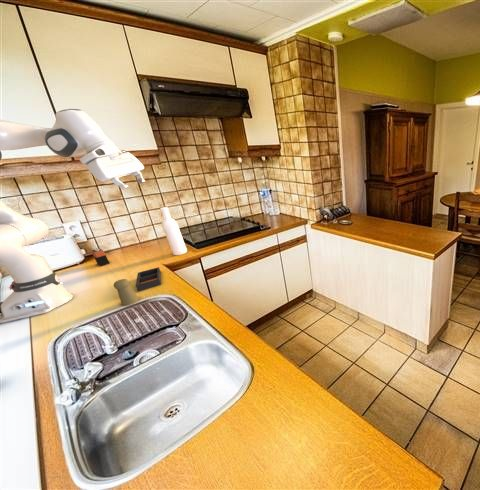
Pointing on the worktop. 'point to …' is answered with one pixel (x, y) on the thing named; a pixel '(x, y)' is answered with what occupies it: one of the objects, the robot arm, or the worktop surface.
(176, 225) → the bottle
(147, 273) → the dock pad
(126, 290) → the cork
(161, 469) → the worktop surface
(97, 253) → the battery
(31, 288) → the robot arm
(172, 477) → the worktop surface
